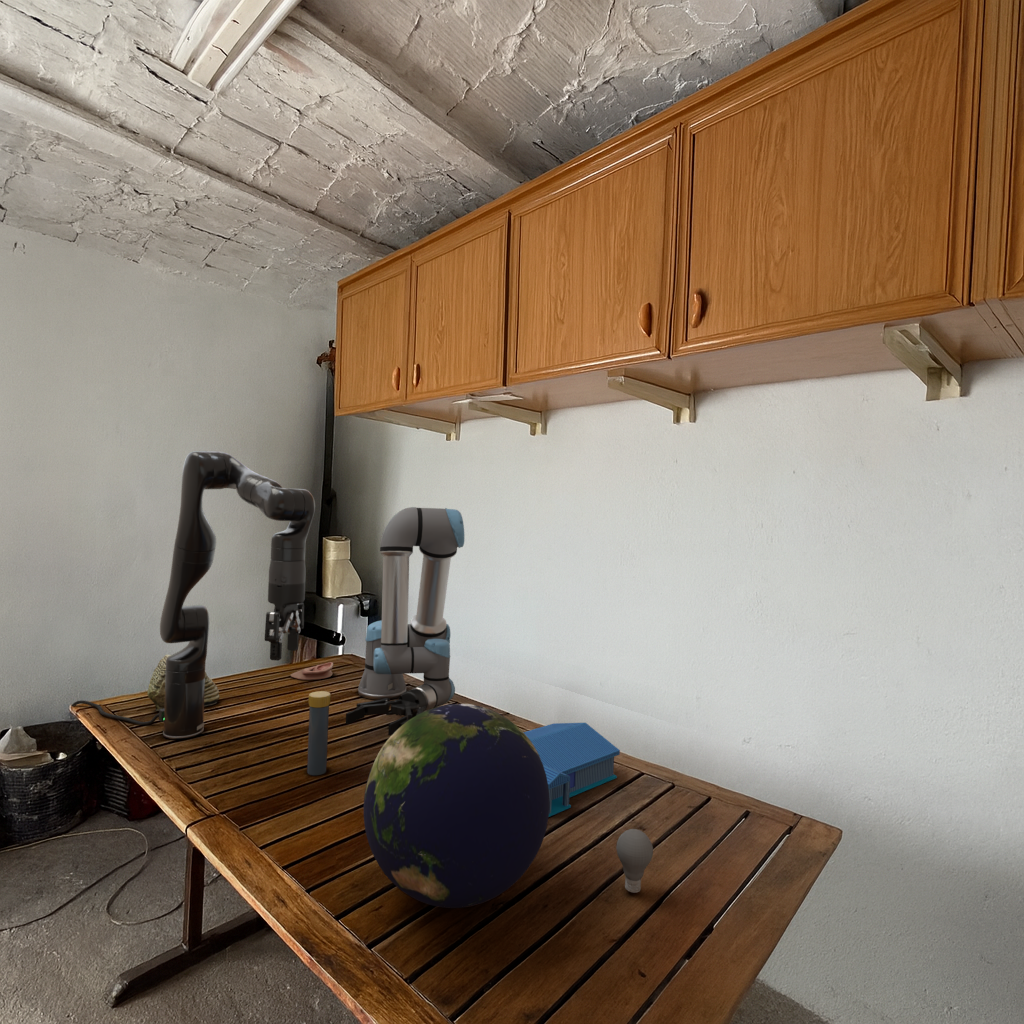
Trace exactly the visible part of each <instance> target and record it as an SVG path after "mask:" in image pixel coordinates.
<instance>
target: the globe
mask: <svg viewBox="0 0 1024 1024" xmlns="http://www.w3.org/2000/svg"><path fill="white" fill-rule="evenodd" d="M523 732H524V731H523V730H522V729H521V728H520V727H519V726H517V724H515V723H514V722H513V721H512V720H510V719H509V718H507V717H505V716H504V715H503V714H501V713H498V712H497V711H494V710H493V709H490V708H486V707H484V706H479V705H476V704H472V703H450V704H443V705H440V706H438V707H436V708H432V709H429V710H427V711H425V712H422V713H420V714H419V715H417V716H415V717H413V718H412V719H410V720H409V721H407V722H406V723H405V724H403V725H402V726H401V727H400V728H399V729H397V730H396V732H395V733H394V734H392V735H390V737H388V739H387V740H386V741H385V742H384V744H383V745H382V747H381V748H380V750H379V752H378V753H377V755H376V758H375V759H374V762H373V764H372V766H371V768H370V771H369V774H368V778H367V781H366V783H365V790H364V797H363V824H364V830H365V835H366V839H367V842H368V845H369V848H370V851H371V854H372V856H373V858H374V859H375V861H376V863H377V864H378V867H379V868H380V869H381V871H382V872H383V874H384V875H385V876H386V877H387V878H388V879H389V881H390V882H391V883H392V884H393V885H394V886H395V887H396V888H398V890H400V891H402V893H404V894H406V895H407V896H409V897H411V898H413V899H414V900H415V901H418V902H421V903H423V904H425V905H429V906H433V907H437V908H442V909H443V908H444V909H462V908H470V907H474V906H477V905H480V904H484V903H487V902H489V901H491V900H493V899H495V898H496V897H498V896H500V895H501V894H503V893H505V892H506V891H508V890H509V889H510V888H511V887H512V886H513V885H515V884H516V883H517V882H518V881H519V880H520V879H521V878H522V876H524V874H525V873H526V872H527V870H528V869H529V868H530V866H531V865H532V864H533V862H534V860H535V858H536V857H537V855H538V853H539V851H540V848H541V846H542V844H543V841H544V839H545V835H546V832H547V827H548V823H549V788H548V782H547V777H546V773H545V770H544V766H543V764H542V761H541V759H540V756H539V754H538V752H537V750H536V749H535V747H534V745H533V744H532V742H531V741H530V739H529V738H528V737H527V736H526V735H525V734H524V733H523Z"/></svg>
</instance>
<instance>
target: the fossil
mask: <svg viewBox="0 0 1024 1024" xmlns="http://www.w3.org/2000/svg"><path fill="white" fill-rule="evenodd" d="M171 655H172V654H165V655H164V656H163V657H162V658H161V659H160V660H159V662H158V663H157V666H156V667H155V669H154V670H153V672H152V675H151V677H150V680H149V684H148V688H147V697H148V699H149V700H150V701H152V703H153V704H154V706H155V711H159V709H163V708H164V705H165V674H166V660H167V658H168V657H169V656H171ZM220 698H221V696H220V690H219V688H218V686H217V685H216V683H215V682H214V681H213V679H212V678H211V677H209V675H208V674H207V672H206V671H205V693H204V707H207V706H213V705H215V704H217V703H218V701H219V699H220Z"/></svg>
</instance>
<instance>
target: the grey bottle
mask: <svg viewBox="0 0 1024 1024" xmlns="http://www.w3.org/2000/svg"><path fill="white" fill-rule="evenodd" d="M329 715H330V705H328V706H326V707H320V708H316V707H311V706H309V713H308V738H307V760H306V761H307V764H306V774H307V775H310V776H320V775H325V774H326V773H327V768H328V745H329V743H328V742H329V718H330V716H329Z"/></svg>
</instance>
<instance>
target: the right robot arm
mask: <svg viewBox="0 0 1024 1024" xmlns="http://www.w3.org/2000/svg"><path fill="white" fill-rule="evenodd" d="M464 545H465V526H464V519H463V516H462V513H461V511H460V510H458V509H454V508H447V507H445V508H438V507H437V508H436V507H416V506H411V507H406V508H403V509H401V510H399V511H398V512H396V513H395V514H394V515H393V516H392V517H391V518H390V520H389V521H388V522H387V524H386V526H385V527H384V530H383V532H382V535H381V537H380V544H379V554H381V556H382V595H381V620H377V621H374V622H372V623H370V624H369V625H368V626H367V627H366V634H365V639H364V640H365V658H364V671H363V672H362V676H361V679H360V681H359V684H358V689H357V694H358V695H359V696H360V697H361V698H365V699H369V700H371V701H364V702H359V703H356V709H354V710H351V711H348V712H346V713H345V725H350V724H352V723H354V722H357V721H360V720H361V719H365V716H374V715H375V716H377V715H386V716H394V715H395V716H402V717H399V718H397V719H396V720H393V721H391V722H389V723H388V730H387V731H388V732H387V735H388V736H392V735H393V734H394V733H395V732H396V730H397V729H399V728H400V727H401V726H402V725H403V724H405V723H406V722H407V721H409V720H410V719H412V718H413V717H415V716H417V715H419V714H420V713H422V712H425V711H427V710H429V709H432V708H436V707H439V706H444V705H446V703H448V702H450V701H451V700H452V699H453V697H454V696H455V693H456V686H455V684H454V682H453V680H452V679H451V678H450V665H451V664H450V662H451V627H450V625H449V624H448V623H447V619H445V618H444V612H445V604H446V597H447V590H448V584H449V583H448V582H449V576H450V568H451V562H452V558H453V557H455V556H456V554H457V553H458V549H461V548H463V547H464ZM414 547H418V549H419V552H420V553H421V554H422V555H423V556H422V564H421V572H420V582H419V590H418V598H417V605H416V614H415V615H413V616H412V618H411V620H410V623H409V588H410V587H409V585H410V557H411V555H413V554H414ZM406 674H408V675H409V674H423V675H422V677H423V684H421V685H418V686H416V687H413V688H411V689H409V690H407V684H406V680H405V677H404V675H406Z"/></svg>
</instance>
